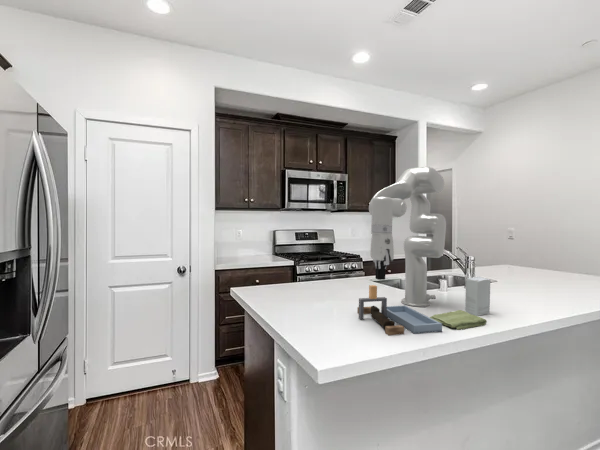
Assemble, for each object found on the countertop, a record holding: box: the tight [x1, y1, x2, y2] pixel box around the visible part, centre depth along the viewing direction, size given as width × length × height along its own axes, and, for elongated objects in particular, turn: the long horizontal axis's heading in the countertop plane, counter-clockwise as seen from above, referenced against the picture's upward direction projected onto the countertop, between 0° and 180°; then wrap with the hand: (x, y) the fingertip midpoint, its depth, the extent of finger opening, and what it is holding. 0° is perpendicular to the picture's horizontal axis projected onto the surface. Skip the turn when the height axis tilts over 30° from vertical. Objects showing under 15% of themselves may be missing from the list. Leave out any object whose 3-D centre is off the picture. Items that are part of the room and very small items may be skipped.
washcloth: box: [429, 309, 488, 331], centre depth 122 cm, size 13×18×3 cm
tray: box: [380, 304, 443, 335], centre depth 122 cm, size 11×24×3 cm, turn 13°
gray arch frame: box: [358, 284, 388, 320], centre depth 126 cm, size 11×2×13 cm, turn 103°
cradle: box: [357, 306, 405, 336], centre depth 121 cm, size 6×26×2 cm, turn 13°
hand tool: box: [370, 305, 396, 331], centre depth 121 cm, size 19×4×5 cm, turn 4°
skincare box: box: [464, 276, 491, 317], centre depth 134 cm, size 8×6×15 cm
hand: (380, 279), depth 119 cm, fingers closed
